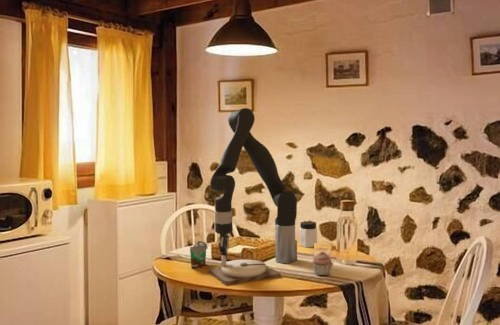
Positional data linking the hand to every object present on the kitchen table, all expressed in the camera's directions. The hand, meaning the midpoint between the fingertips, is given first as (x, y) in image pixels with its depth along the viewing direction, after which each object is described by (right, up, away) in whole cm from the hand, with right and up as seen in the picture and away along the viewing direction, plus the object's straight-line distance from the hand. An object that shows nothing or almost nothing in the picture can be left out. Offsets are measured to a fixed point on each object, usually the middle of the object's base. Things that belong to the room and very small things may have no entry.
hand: (224, 260), depth 235 cm
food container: (-11, -5, +13) cm, 18 cm away
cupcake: (+42, -6, -3) cm, 42 cm away
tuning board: (+8, -6, -2) cm, 10 cm away
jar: (+41, -1, +48) cm, 63 cm away
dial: (+8, -4, -2) cm, 9 cm away
